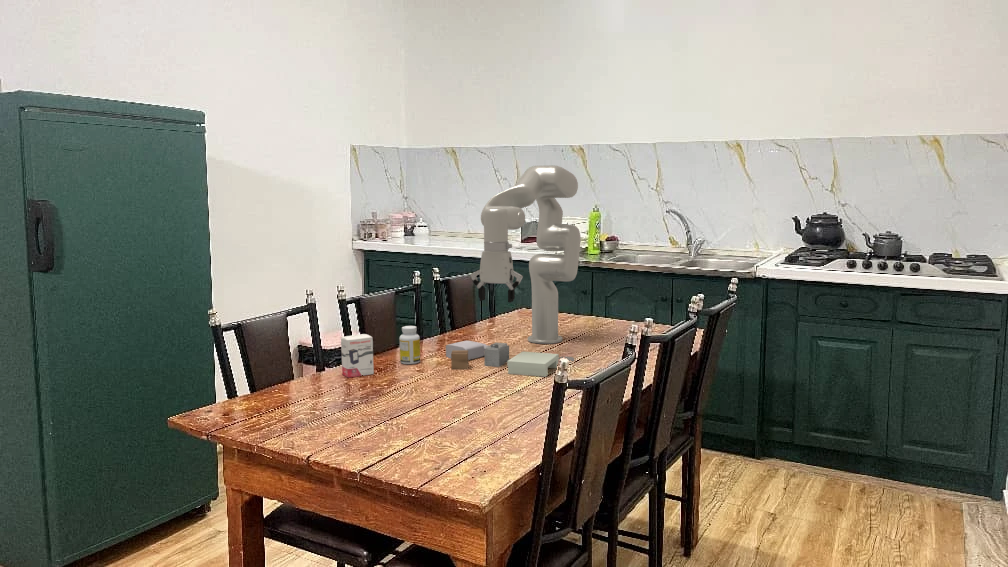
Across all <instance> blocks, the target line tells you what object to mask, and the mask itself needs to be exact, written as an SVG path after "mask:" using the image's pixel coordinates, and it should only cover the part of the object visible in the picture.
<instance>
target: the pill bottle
mask: <svg viewBox="0 0 1008 567" xmlns="http://www.w3.org/2000/svg"><path fill="white" fill-rule="evenodd" d="M401 331H402V334H401V335H400V336H399V338H398V340H399V361H400V363H401V364H404V365H415V364H419V363H420V362H421V338H420V337H421V336H420V335H419V334H418V333H417V326H415V325H405V326H402V327H401Z"/></svg>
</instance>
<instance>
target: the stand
mask: <svg viewBox="0 0 1008 567" xmlns="http://www.w3.org/2000/svg"><path fill="white" fill-rule="evenodd" d="M559 354H560V353H551V352H535V351H524V350H523V351H521V352H520V353H518V354H516V355H515V356H513V357H512V358H509V360H508V361H507V363H506V365H507V374H509V375H522V376H532V377H542V378H543V377H545V378H546V377H547V376H548V375H549V374H548V372H549V370H548V369H549V368H550V369H557V364H558V365H559V358H560V357H559Z"/></svg>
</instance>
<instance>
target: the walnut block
mask: <svg viewBox="0 0 1008 567" xmlns="http://www.w3.org/2000/svg"><path fill="white" fill-rule="evenodd" d="M450 361H451V363H450V364H451V368H450V369H451V370H452V371H454V370H455V371H456V370H468V369H469V360H468V350H456V351H452V353H451V358H450Z"/></svg>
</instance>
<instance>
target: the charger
mask: <svg viewBox="0 0 1008 567" xmlns="http://www.w3.org/2000/svg"><path fill="white" fill-rule="evenodd" d="M488 346H490V345H489V344H488V345H487V344H486V343H483V342H477V341H473V340H463V341H458V342H454V343H448V344H446V345H445V357H446V358H447V357H448V358H447V359H451V353H452V351H456V350H468V361H472V360H475V359H477V358H478V359H480V358H484V350H486V347H488Z"/></svg>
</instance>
